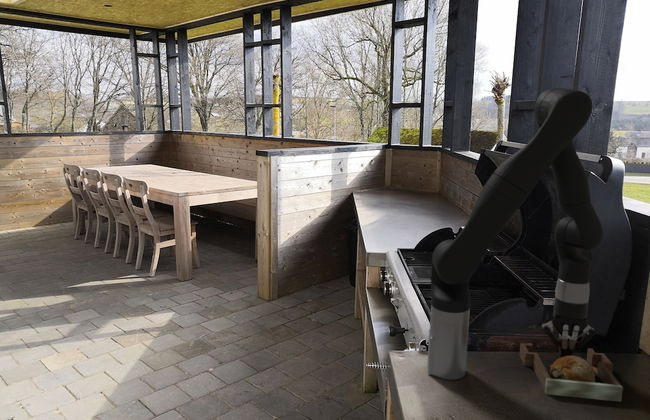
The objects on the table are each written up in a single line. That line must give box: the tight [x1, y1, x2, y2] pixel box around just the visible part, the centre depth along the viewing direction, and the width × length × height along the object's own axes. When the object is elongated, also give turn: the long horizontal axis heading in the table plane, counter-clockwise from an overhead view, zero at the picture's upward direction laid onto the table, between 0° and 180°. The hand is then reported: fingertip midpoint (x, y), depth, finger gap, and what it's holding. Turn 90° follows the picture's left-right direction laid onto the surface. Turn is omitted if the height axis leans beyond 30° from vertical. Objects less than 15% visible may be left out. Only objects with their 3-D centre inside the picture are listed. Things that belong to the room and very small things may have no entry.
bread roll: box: [549, 355, 596, 383], centre depth 118 cm, size 10×10×8 cm
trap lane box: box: [519, 342, 624, 403], centre depth 120 cm, size 20×20×4 cm
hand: (565, 360), depth 125 cm, fingers closed
